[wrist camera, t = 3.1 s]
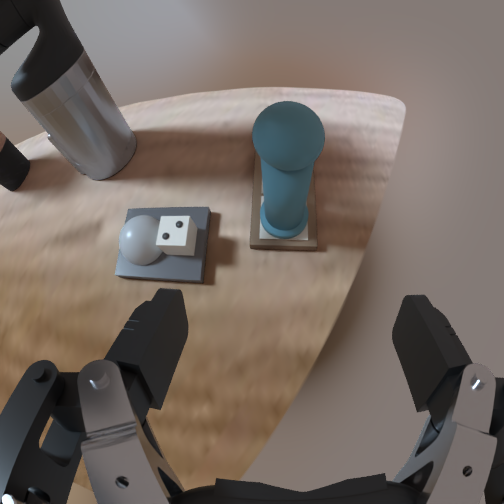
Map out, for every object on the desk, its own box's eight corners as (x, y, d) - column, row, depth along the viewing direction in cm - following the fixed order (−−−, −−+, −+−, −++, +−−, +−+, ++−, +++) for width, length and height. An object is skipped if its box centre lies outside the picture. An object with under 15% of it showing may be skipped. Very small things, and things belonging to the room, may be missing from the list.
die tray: (126, 280, 30) (100, 267, 24) (138, 218, 33) (116, 196, 27) (206, 285, 29) (191, 272, 24) (213, 217, 32) (201, 192, 26)
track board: (250, 248, 28) (249, 244, 27) (257, 130, 34) (256, 123, 32) (315, 250, 28) (317, 245, 27) (308, 131, 33) (309, 124, 32)
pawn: (259, 238, 27) (244, 139, 13) (261, 196, 29) (249, 86, 15) (307, 239, 27) (336, 142, 13) (306, 197, 28) (325, 88, 15)
